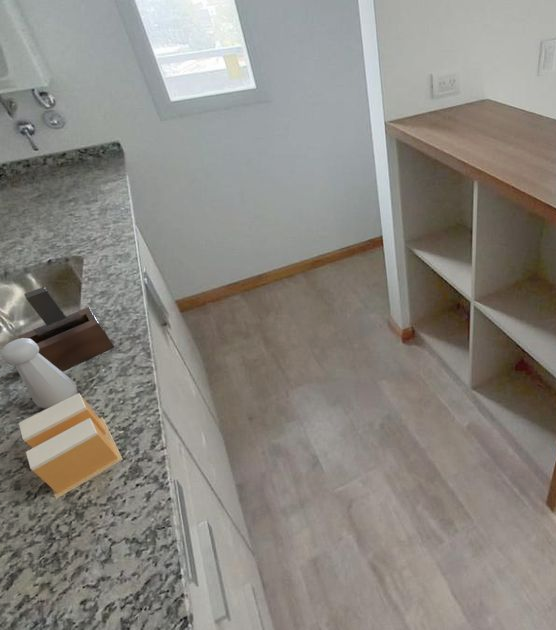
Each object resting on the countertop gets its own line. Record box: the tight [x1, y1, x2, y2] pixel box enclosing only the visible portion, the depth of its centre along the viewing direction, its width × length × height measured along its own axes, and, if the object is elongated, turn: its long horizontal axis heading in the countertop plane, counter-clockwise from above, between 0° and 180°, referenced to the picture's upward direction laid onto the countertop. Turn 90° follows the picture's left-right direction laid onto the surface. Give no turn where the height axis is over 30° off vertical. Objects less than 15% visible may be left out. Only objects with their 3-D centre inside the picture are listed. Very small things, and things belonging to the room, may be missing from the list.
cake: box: [18, 392, 123, 500], centre depth 62 cm, size 8×11×7 cm
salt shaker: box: [0, 338, 78, 410], centre depth 69 cm, size 6×6×13 cm
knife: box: [24, 285, 86, 341], centre depth 79 cm, size 7×2×14 cm, turn 134°
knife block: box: [18, 306, 115, 373], centre depth 81 cm, size 11×7×6 cm, turn 134°
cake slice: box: [25, 418, 118, 493], centre depth 60 cm, size 8×4×6 cm, turn 134°
